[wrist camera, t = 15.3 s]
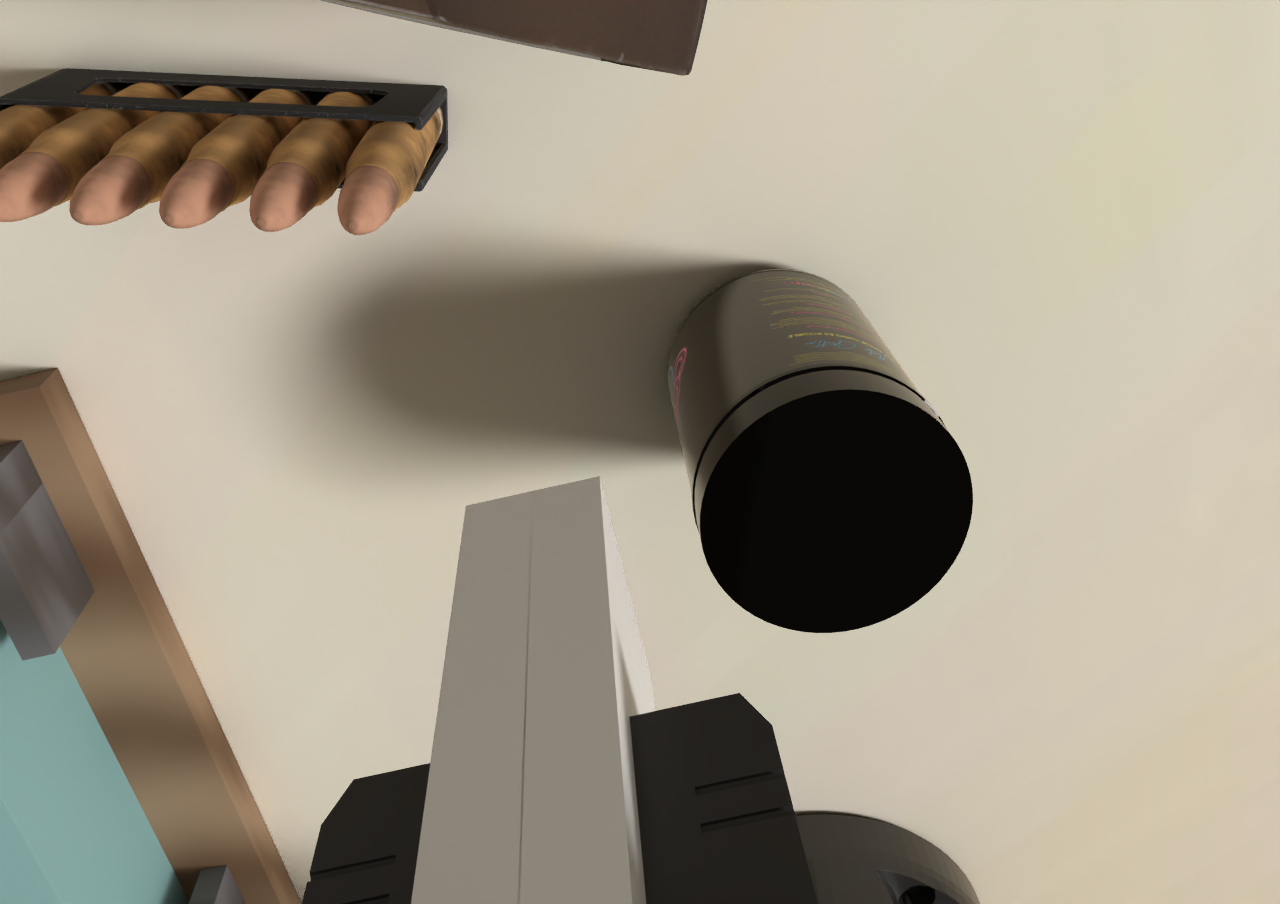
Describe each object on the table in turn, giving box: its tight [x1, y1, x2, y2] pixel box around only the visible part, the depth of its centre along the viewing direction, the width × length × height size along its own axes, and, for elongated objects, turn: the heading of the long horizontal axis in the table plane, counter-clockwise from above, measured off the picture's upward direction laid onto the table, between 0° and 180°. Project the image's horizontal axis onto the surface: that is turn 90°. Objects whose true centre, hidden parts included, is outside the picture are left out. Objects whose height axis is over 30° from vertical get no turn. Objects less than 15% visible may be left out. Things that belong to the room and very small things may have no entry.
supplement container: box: [667, 269, 973, 633], centre depth 34 cm, size 7×7×10 cm
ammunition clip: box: [0, 68, 448, 235], centre depth 29 cm, size 11×2×12 cm, turn 87°
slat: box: [0, 619, 189, 904], centre depth 39 cm, size 18×3×6 cm, turn 12°
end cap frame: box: [0, 368, 302, 904], centre depth 41 cm, size 26×9×5 cm, turn 12°
